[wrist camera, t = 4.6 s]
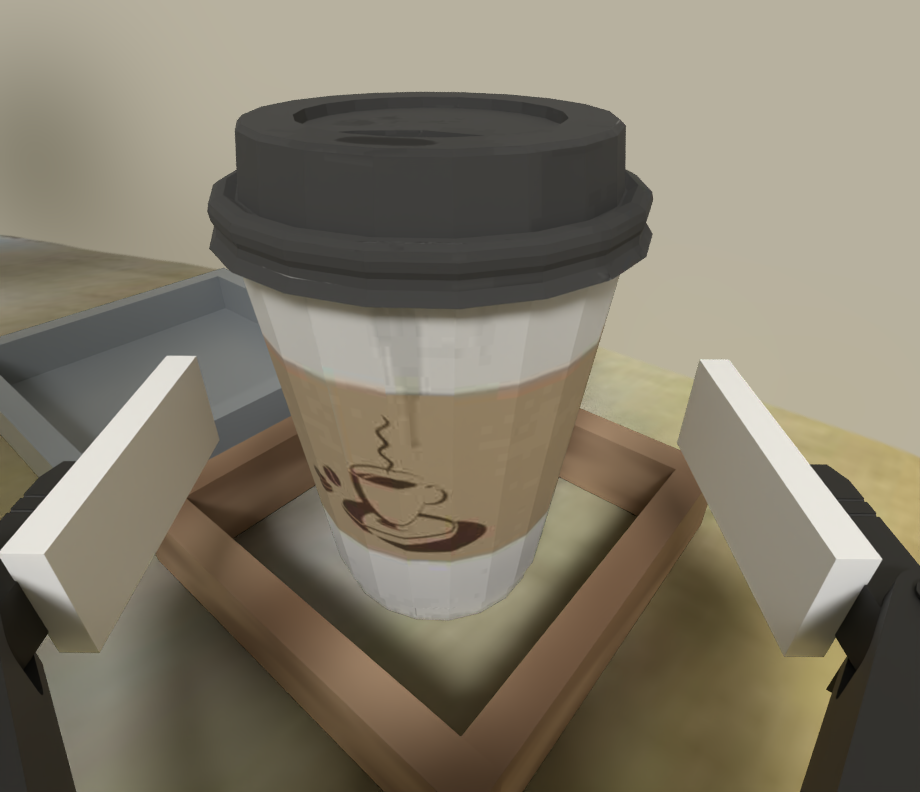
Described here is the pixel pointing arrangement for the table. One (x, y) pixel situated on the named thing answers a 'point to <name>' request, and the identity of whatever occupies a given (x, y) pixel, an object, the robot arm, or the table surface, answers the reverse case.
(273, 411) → the tray
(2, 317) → the table surface
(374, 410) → the coffee cup
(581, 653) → the collar
